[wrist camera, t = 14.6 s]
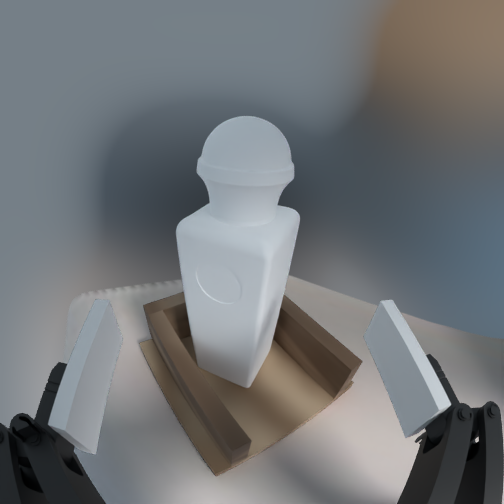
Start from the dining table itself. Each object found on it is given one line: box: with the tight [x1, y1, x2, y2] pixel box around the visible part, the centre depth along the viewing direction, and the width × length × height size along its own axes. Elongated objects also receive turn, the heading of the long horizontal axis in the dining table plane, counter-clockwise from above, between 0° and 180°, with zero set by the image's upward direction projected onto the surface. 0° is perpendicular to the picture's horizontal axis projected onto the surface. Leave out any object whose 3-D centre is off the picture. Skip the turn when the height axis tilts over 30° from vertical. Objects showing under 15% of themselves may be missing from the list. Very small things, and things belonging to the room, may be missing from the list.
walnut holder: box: [140, 292, 362, 476], centre depth 24 cm, size 16×16×6 cm
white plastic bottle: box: [176, 116, 300, 388], centre depth 20 cm, size 6×6×22 cm
